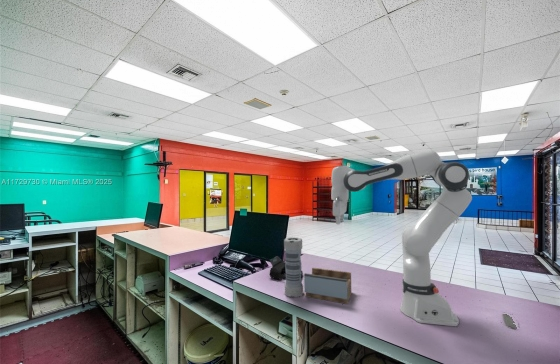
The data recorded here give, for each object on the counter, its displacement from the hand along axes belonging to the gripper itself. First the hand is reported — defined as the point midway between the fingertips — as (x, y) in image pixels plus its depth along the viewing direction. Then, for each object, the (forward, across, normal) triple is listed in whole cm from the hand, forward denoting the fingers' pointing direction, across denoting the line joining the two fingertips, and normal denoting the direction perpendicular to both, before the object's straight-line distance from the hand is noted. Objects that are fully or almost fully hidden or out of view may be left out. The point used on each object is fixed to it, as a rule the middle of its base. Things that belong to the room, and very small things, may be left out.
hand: (339, 222), depth 127 cm
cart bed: (+40, +3, +6) cm, 41 cm away
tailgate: (+37, -5, +6) cm, 38 cm away
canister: (+40, -3, +24) cm, 47 cm away
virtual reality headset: (+41, +19, +37) cm, 58 cm away
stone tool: (+39, +7, -71) cm, 82 cm away
